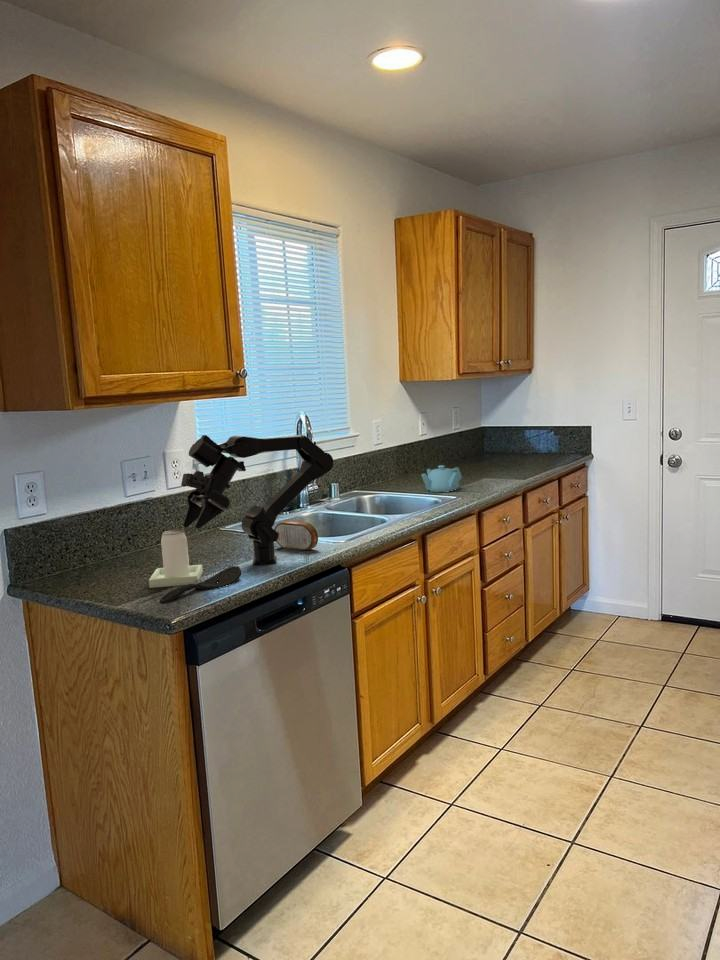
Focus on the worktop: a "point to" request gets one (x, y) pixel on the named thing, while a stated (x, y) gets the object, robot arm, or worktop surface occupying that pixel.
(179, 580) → the tray
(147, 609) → the worktop surface
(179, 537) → the can
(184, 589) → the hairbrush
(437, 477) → the teapot
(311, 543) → the tin
